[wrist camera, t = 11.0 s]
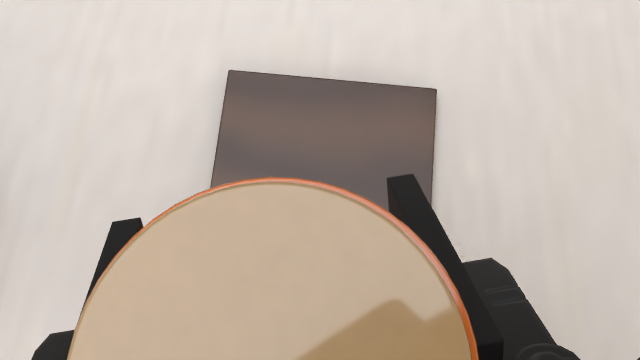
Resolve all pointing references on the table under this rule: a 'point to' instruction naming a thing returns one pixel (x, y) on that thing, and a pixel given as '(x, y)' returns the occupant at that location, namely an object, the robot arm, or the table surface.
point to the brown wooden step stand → (325, 132)
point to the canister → (274, 283)
